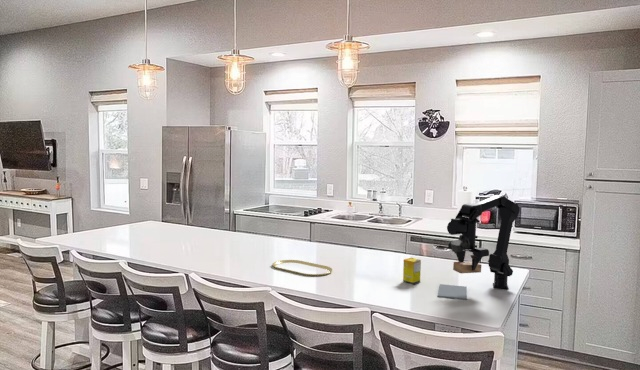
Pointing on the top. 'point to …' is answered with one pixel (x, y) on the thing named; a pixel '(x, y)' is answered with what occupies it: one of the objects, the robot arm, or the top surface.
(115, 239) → the top surface
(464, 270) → the cardboard box
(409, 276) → the supplement box
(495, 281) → the robot arm
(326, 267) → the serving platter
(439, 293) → the slate mat
